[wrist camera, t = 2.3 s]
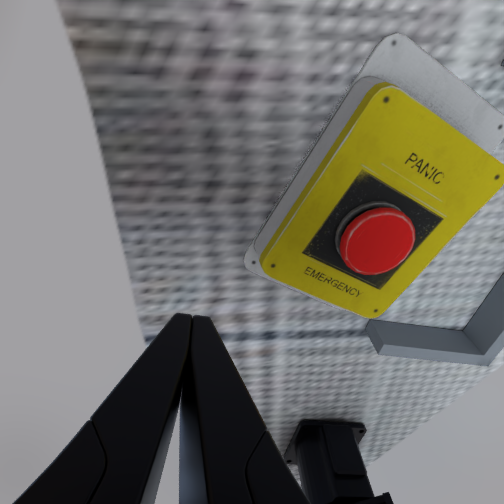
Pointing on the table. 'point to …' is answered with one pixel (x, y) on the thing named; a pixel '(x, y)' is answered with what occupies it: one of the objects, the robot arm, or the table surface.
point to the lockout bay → (447, 335)
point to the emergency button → (383, 184)
